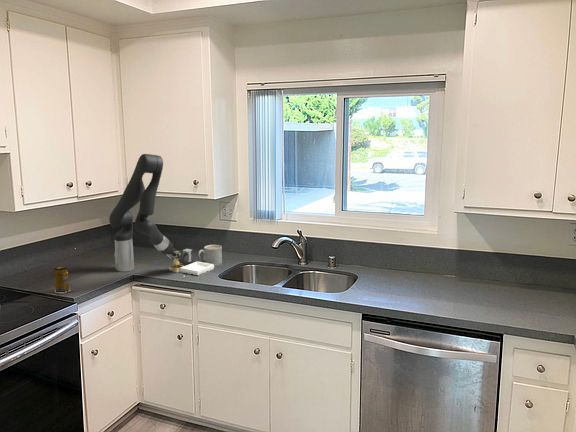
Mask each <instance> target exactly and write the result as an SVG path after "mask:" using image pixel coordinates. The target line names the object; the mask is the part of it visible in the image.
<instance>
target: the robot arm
mask: <svg viewBox="0 0 576 432" xmlns="http://www.w3.org/2000/svg"><path fill="white" fill-rule="evenodd" d="M163 169H164V160H163V157H162V156H161V155H158V154H151V153H149V154H148V153H143V154H141V155H139V157H138V160H137V162H136V164H135V168H134V170H133V173H132V175H131V177H130V180H129V181H128V183H127V185H126V187H125V188H124V191H123V193H122V195H121V197H120V198H119V201H118V202H117V204H116V205H115V207H114V208H113V209H112V211H111V213H110V214H109V215H110V216H109V219H108V221H109V225H110V226H111V227H112V228H114V229H120V230H118V232H116V233H115V234H114V236H113V238H114V249H115V250H114V253H113V255H114V267H115V268H114V269H115V271H117V272H122V273H123V272H124V273H125V272H130V271H134V269H135V262H134V261H135V259H134V258H135V256H134V245H133V244H134V243H133V235H134V229H135V231H136V232H137V233H139V234H142V235H146V239H147V240H148V241H149V242H150V243H151V244H152V245H153V247H155V249H157V250H158V252H159V253H161V254H162V255H163V256H165V257H166V258H170V259H171V260H173V261H174V258H176V259H177V260H178V261H179V262H180V264H182V261H183V259H182V257H183V254H182V253H183V252H181V251H180V250H176V249H175V248H174V244H173V243H172V242H171V241H170V240H169V239H168V238H167V237H166V236H165V235H163V234H162V232H161V231H160V230H159V228H158V227H157V224H156V223H154V222H153V221H151V220H148V217H149V216H153V214H154V213H155V203H156V198H157V197H156V195H157V192H158V189H159V185H160V180H161V177H162V173H163ZM145 174H152V175H151V179H150V182H149V183H148V185H147V187H145V183H144V181H143V177H144V175H145ZM138 204H139V210H138V213H137V214H136V215H137V216H136V218H135V220H134V218H133V213H132V211H131V209H132V208H134V207H135V206H137V205H138ZM177 251H179V252H177Z"/></svg>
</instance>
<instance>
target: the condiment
mask: <svg viewBox="0 0 576 432" xmlns="http://www.w3.org/2000/svg"><path fill="white" fill-rule="evenodd" d="M53 277H54V287H55V289H54V290H56V292H65V291H68V290H69V289H70V280H69V279H70V278H69V272H68V266H65V265H58V266H55V267H54V273H53ZM68 292H69V291H68Z"/></svg>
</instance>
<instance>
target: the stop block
mask: <svg viewBox="0 0 576 432" xmlns="http://www.w3.org/2000/svg"><path fill="white" fill-rule="evenodd" d="M181 267H184V266H183V264H182V265H181V264H180V268H181ZM180 268H174V265H172V266H169V272H174V273H181V272H180Z"/></svg>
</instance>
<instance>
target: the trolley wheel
mask: <svg viewBox="0 0 576 432" xmlns="http://www.w3.org/2000/svg"><path fill="white" fill-rule="evenodd" d="M192 251H193V249H191V248H185V249H182V252H181V253H183V255H182V259H183V261H182V263H181V264H182V266H187V265H189V264H192V263H194V256H193V255H192Z"/></svg>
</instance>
